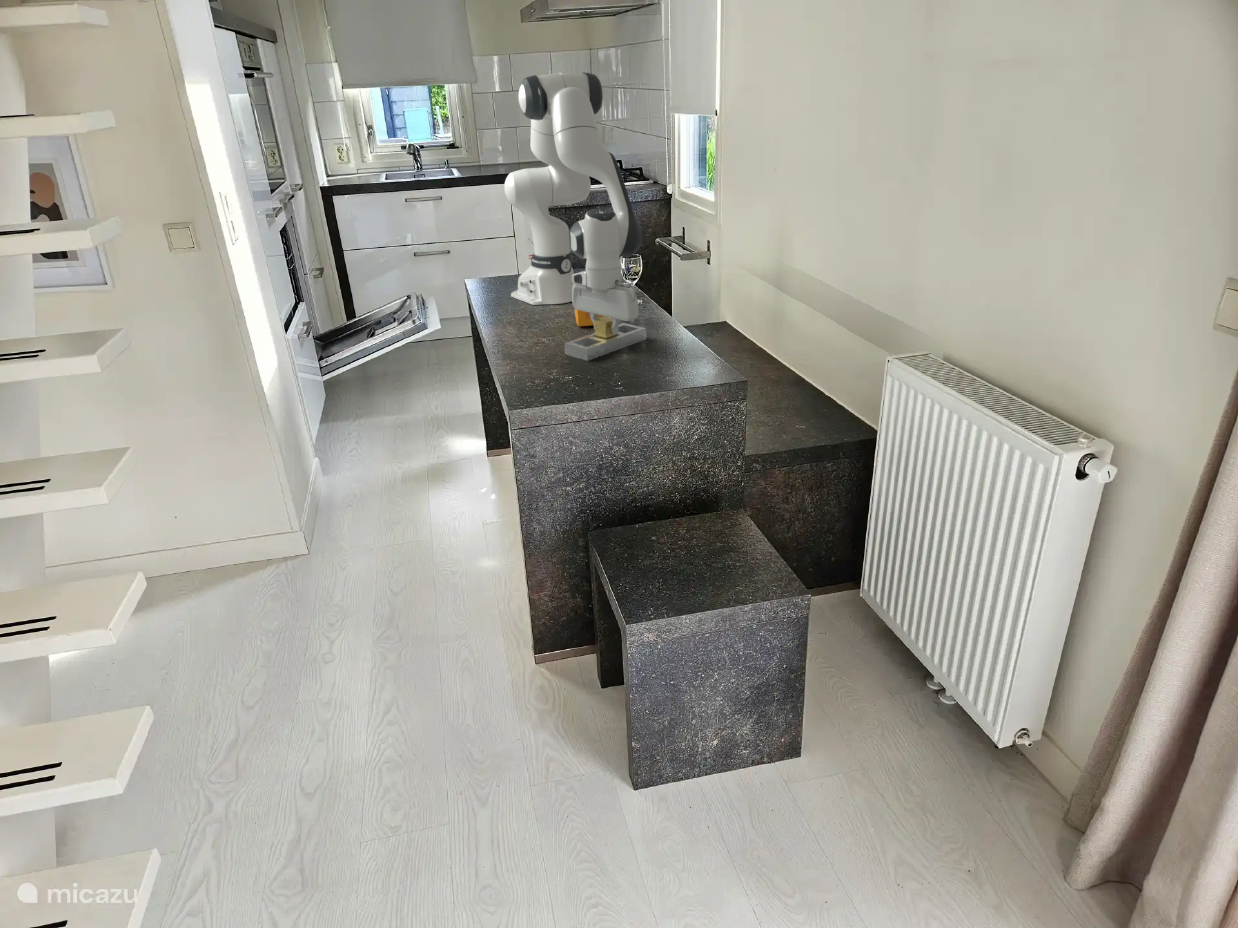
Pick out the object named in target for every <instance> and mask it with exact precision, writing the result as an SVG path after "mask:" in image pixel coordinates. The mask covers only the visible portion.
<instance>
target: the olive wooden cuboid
mask: <svg viewBox="0 0 1238 928" xmlns="http://www.w3.org/2000/svg"><path fill="white" fill-rule="evenodd" d="M594 325H595V330H594V333H595V337H597V338H601V339H605V340H607V339H610V338H613V337H616V336H617V334H615V335H613V334H610V333H609V327H612V325H613V322H612V318H611V317H606V316H604V317H602V318H599V319H596V320H594ZM594 325H593V326H594Z"/></svg>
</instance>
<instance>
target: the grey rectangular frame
mask: <svg viewBox="0 0 1238 928" xmlns="http://www.w3.org/2000/svg"><path fill="white" fill-rule="evenodd" d="M646 340H647V328H646V327H643V326H638V325H634V324H630V323H625V322H622V323H620V324H619V326H618V333H617V336H616V337H613V338H610V339H607V340H605V339H601V338H597V337H595V332H593V333H591V334H587V335H584V336H581V337H579V338H575V339H572V340H569V341H567V342H565V343H564V344H563V345H564V355H565V354H566V356H569V357H572V358H577V359H579V360H583V361H591V360H595V359H597V358H599V356H600V357H602V356H604V355H608V354H610V353H613V352H615V351H619V350H621V349H623V348H626V347H629V346H631V345H635V344H637V343H640V342H642V341H643V342H644V341H646Z"/></svg>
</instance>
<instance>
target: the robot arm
mask: <svg viewBox="0 0 1238 928" xmlns="http://www.w3.org/2000/svg"><path fill="white" fill-rule="evenodd" d="M601 82H602V81H600V78H598V76H597V75H596V74H595V73H590V72H584V71H583V72H582V73H579V72H568V71H567V72H558V73H548V74H540V75H536V74H535V75H529V76H526V77H524V78H523V79H522V80H521V82H520V84H519V90H518V99H517V100H518V105H519V107H520V109H521V112H522V114H523V115H524V116H525V117H526V118H527V119H529V120H530V138H529V139H530V140H529V141H530V144H529V145H530V151H531V152H532V154H533V156H534V157H535V158H536V159H538V160H539V161H541V162H542V163H544V164H547V165H548V166H545V167H531V168H522V169H519V170H514V171H512V172H510V173H508V175H507V176H506V178H505V181H504V188H503V190H504V195H505V197H506V200H507V201H508V203H509V204H511V206H513V207H514V208H515V209H517V210H518V211H519V212H520V213H522V215H523V216H524V217H525V218H526V219H525V220H527V222H528V224H529V227H530V229H531V235H532V236H531V237H532V244H533V254H529V255H528V257H529V258H528V259H529V260H531V262H530V266H529V267H527V268H526V270H525V271H524V272H523V273H522V274H520V275H519V276H518V278H517V279H518V280H517V290H513V291H512V292H511V293H510V297H511V298H514V299H517V300H519V301H521V302H525V303H527V304H530V305H533V306H539V305H557V304H565V303H570V302H572V306H573V308H574V310H575V309H576V310H580V311H585V312H589V313H590V318H591V320H592V322H593V323H594V320H596V319H599V317H598V316H599V315H602V316H604V317H610V318H612V322H613V325H612V327H609V333H610V334H613V335H615V334H617V333H618V326H619V324H621V322H622V321H625V322H632V321H634V320H636V319H637V318H638V317H639V315H640V312H639V303H638V297H637V290H636V288H635V287H634V285H632V283H630V282H625V281H622V262H621V259H620V257H622V258H623V257H626V258H627V257H633V255H635V253H637V251H639V249H640V247H642V246H641V245H642V244H643V233H642V229H641V228H642V227H641V226H640V223H639V221H638V219H637V217H636V214H635V211H634V209H633V206H632V203H631V199H630V196H629V193H628V191H627V187H626V185H625V180H624V177H623V174H622V172H621V169H620V166H619V164H618V162H617V159H616V157H615V155H614V154H613V153H612V152H610V151H608V150H607V149H606V147H605V146H604V145H603V143H602V141H601V139H600V136H599V131H598V127H597V121H596V117H595V115H597V114H598V113H599V111H600V110H601V108H602V106H603V100H604V92H603V88H602V87H603V86H602V83H601ZM590 177H591V178H594V179H595V180H597V181H599V182H600V183H601V184H603V186H604V187H605V189H606V191H607V194H608V198H609V201H610V203H611V207H612V209H613V210H611V209H609V208H608V209H607V208H594V209H590V210H589V211H587V212H586V213H585V215H584V219H581V220H578V221H575V222H574V224H573V225H572V226H571V228H569V226H568V224H567V223H566V222H564V221H563V220H562V219H559V218H558V217H555V216H553V215H551V214H550V212H549V207H556V206H557V207H559V206H568V205H574V204H577V203H581V202H583V201H586V199H587V198H588V196H589V194H590V193H591V187H592V184H591V178H590ZM572 253H573V254H574V255H575V256H576V257H578V258H579V259H586V263H585V269H584V270H583V271H580V272H579V271H578V272H576V273H574V269H573V267H572V266H573V254H572ZM593 330H594V331H595V325H593Z"/></svg>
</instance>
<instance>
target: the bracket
mask: <svg viewBox="0 0 1238 928" xmlns="http://www.w3.org/2000/svg"><path fill="white" fill-rule="evenodd" d="M574 317H575V322H576V325H577V327H589V326H594V323H593V322H592V320H591V318H590V313H589V312H585V311H580V310H576V309H575V308H574ZM598 317H599V318H602V317H605V316H602V315H599V316H598Z"/></svg>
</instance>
